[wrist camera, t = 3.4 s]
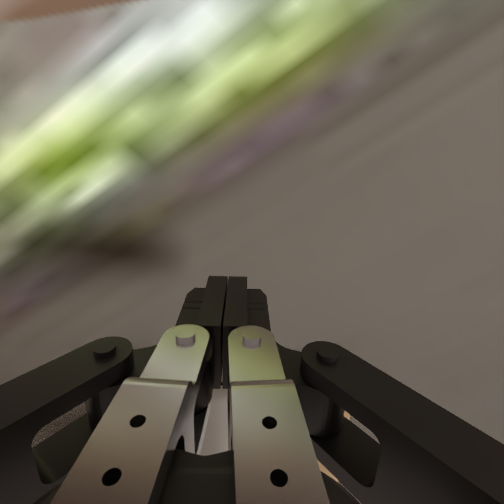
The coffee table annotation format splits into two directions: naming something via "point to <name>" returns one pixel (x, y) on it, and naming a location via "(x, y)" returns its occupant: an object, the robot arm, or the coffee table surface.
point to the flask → (216, 424)
